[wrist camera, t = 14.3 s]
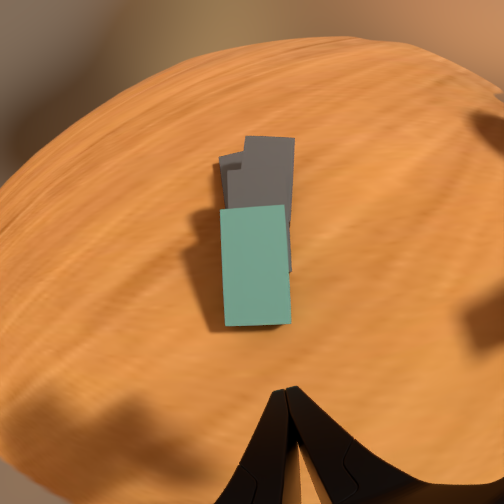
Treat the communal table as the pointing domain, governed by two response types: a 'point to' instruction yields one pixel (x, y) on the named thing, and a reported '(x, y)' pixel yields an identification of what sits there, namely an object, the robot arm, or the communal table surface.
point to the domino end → (227, 164)
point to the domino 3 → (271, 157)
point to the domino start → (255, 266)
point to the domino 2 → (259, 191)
